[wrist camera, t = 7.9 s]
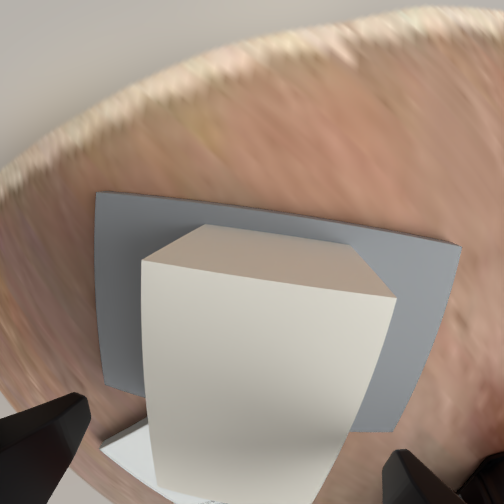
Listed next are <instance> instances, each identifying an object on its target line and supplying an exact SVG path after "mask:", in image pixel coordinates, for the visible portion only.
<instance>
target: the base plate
mask: <svg viewBox="0 0 504 504" xmlns="http://www.w3.org/2000/svg"><path fill="white" fill-rule="evenodd" d="M204 224H209V225H217V226H224V227H232V228H239V229H246V230H253V231H260V232H267V233H274V234H281V235H288V236H295V237H301V238H308V239H315V240H321V241H328V242H334V243H341V244H347V245H350V246H351V247H352V248H353V249H354V250H355V251H356V252H357V253H358V254H359V255H360V257H361V258H362V259H363V260H364V261H365V262H366V263H367V264H368V265H369V267H370V268H371V269H372V270H373V271H374V272H375V273H376V274H377V276H378V277H379V278H380V279H381V280H382V281H383V282H384V284H385V285H386V286H387V287H388V288H389V289H390V290H391V292H392V293H393V294H394V295H395V296H396V297H397V300H396V304H395V307H394V311H393V314H392V318H391V321H390V324H389V328H388V331H387V334H386V337H385V340H384V343H383V346H382V349H381V352H380V355H379V358H378V361H377V364H376V367H375V369H374V372H373V375H372V378H371V380H370V383H369V385H368V388H367V391H366V393H365V396H364V398H363V401H362V403H361V406H360V408H359V410H358V413H357V415H356V417H355V420H354V422H353V424H352V426H351V429H350V431H349V432H393V430H394V428H395V427H396V425H397V423H398V421H399V419H400V417H401V415H402V413H403V411H404V409H405V407H406V405H407V403H408V401H409V399H410V397H411V395H412V393H413V391H414V388H415V386H416V384H417V382H418V380H419V377H420V375H421V373H422V370H423V368H424V366H425V363H426V361H427V358H428V356H429V353H430V351H431V348H432V346H433V343H434V340H435V338H436V335H437V332H438V329H439V326H440V323H441V321H442V318H443V315H444V311H445V308H446V305H447V302H448V299H449V295H450V292H451V289H452V285H453V281H454V278H455V274H456V270H457V266H458V262H459V258H460V254H461V250H462V247H461V246H459V245H457V244H454V243H452V242H447V241H443V240H438V239H433V238H428V237H423V236H418V235H413V234H408V233H403V232H398V231H393V230H387V229H382V228H376V227H371V226H365V225H360V224H354V223H348V222H343V221H337V220H331V219H325V218H318V217H312V216H306V215H300V214H293V213H286V212H280V211H273V210H266V209H259V208H252V207H245V206H237V205H230V204H222V203H214V202H206V201H198V200H190V199H181V198H172V197H163V196H154V195H144V194H134V193H124V192H113V191H103V192H96V204H95V231H94V268H95V295H96V312H97V324H98V335H99V345H100V353H101V361H102V369H103V376H104V382H105V385H107V386H110V387H113V388H116V389H119V390H122V391H125V392H128V393H131V394H134V395H137V396H141V397H144V398H146V396H145V384H144V370H143V353H142V327H141V260H142V259H144V258H146V257H147V256H149V255H151V254H153V253H154V252H156V251H158V250H160V249H161V248H163V247H165V246H167V245H168V244H170V243H172V242H174V241H175V240H177V239H179V238H181V237H183V236H184V235H186V234H188V233H190V232H191V231H193V230H195V229H197V228H199V227H201V226H202V225H204Z"/></svg>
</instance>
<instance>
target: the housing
mask: <svg viewBox="0 0 504 504" xmlns="http://www.w3.org/2000/svg"><path fill="white" fill-rule="evenodd" d="M396 300H397V297H396V296H395V295H394V294H393V293H392V292H391V290H390V289H389V288H388V287H387V286H386V285H385V284H384V282H383V281H382V280H381V279H380V278H379V277H378V276H377V274H376V273H375V272H374V271H373V270H372V269H371V268H370V267H369V265H368V264H367V263H366V262H365V261H364V260H363V259H362V258H361V257H360V255H359V254H358V253H357V252H356V251H355V250H354V249H353V248H352V247H351V246H350V245H347V244H341V243H334V242H328V241H321V240H315V239H308V238H301V237H295V236H288V235H281V234H274V233H267V232H260V231H253V230H246V229H239V228H232V227H224V226H217V225H209V224H204V225H202V226H201V227H199V228H197V229H195V230H193V231H191V232H190V233H188V234H186V235H184V236H183V237H181V238H179V239H177V240H175V241H174V242H172V243H170V244H168V245H167V246H165V247H163V248H161V249H160V250H158V251H156V252H154V253H153V254H151V255H149V256H147V257H146V258H144V259H142V260H141V327H142V353H143V370H144V384H145V396H146V407H147V416H148V425H149V434H150V441H151V449H152V456H153V462H154V468H155V475H156V480H157V486H158V487H161V488H164V489H167V490H171V491H175V492H178V493H182V494H186V495H190V496H194V497H199V498H203V499H208V500H213V501H218V502H223V503H229V504H312V502H313V501H314V499H315V497H316V496H317V494H318V492H319V490H320V488H321V487H322V485H323V483H324V481H325V479H326V477H327V476H328V474H329V472H330V470H331V468H332V466H333V464H334V462H335V460H336V458H337V456H338V454H339V452H340V450H341V448H342V446H343V444H344V442H345V440H346V437H347V435H348V433H349V431H350V429H351V426H352V424H353V422H354V420H355V417H356V415H357V413H358V410H359V408H360V406H361V403H362V401H363V398H364V396H365V393H366V391H367V388H368V385H369V383H370V380H371V378H372V375H373V372H374V369H375V367H376V364H377V361H378V358H379V355H380V352H381V349H382V346H383V343H384V340H385V337H386V334H387V331H388V328H389V324H390V321H391V318H392V314H393V311H394V307H395V304H396Z"/></svg>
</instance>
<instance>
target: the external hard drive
mask: <svg viewBox="0 0 504 504" xmlns="http://www.w3.org/2000/svg"><path fill="white" fill-rule="evenodd" d="M99 449H100V450H101V451H102V452H103V453H104V454H106V455H107V456H108V457H109V458H111V459H112V460H113V461H114V462H116V463H117V464H118V465H119V466H121V467H122V468H123V469H125V470H126V471H127V472H129V473H130V474H131V475H133V476H134V477H135V478H137V479H138V480H140V481H141V482H143V483H144V484H145V485H147V486H148V487H150V488H151V489H153V490H154V491H156V492H157V493H159V494H161V495H162V496H164V497H165V498H167V499H168V500H170V501H172V502H173V503H175V504H229V503H223V502H218V501H213V500H208V499H203V498H199V497H194V496H190V495H186V494H182V493H178V492H175V491H171V490H167V489H164V488H161V487H158V486H157V480H156V475H155V468H154V462H153V456H152V449H151V441H150V434H149V425H148V417H146V418H144V419H143V420H141V421H139V422H137V423H136V424H134V425H132V426H130V427H128V428H127V429H125V430H123V431H121V432H119V433H118V434H116V435H114V436H112V437H110V438H108V439H106V440H105V441H104V442H103V443H102V445H101V446H100V448H99Z"/></svg>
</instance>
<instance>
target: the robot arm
mask: <svg viewBox="0 0 504 504" xmlns="http://www.w3.org/2000/svg"><path fill="white" fill-rule="evenodd" d="M90 421H91V413H90V409H89V404H88V400H87V398H86V397H85V396H84V395H81V394H79V393H76V392H73V393H70V394H67V395H65V396H62V397H60V398H57V399H54V400H52V401H49V402H46V403H44V404H41V405H38V406H36V407H33V408H30V409H27V410H24V411H22V412H19V413H16V414H13V415H10V416H7V417H4V418H1V419H0V504H47V502H48V500H49V498H50V497H51V495H52V493H53V492H54V490H55V488H56V487H57V485H58V483H59V481H60V480H61V478H62V477H63V475H64V473H65V472H66V470H67V468H68V467H69V465H70V463H71V462H72V460H73V458H74V456H75V454H76V452H77V450H78V447H79V445H80V443H81V441H82V438H83V436H84V434H85V432H86V430H87V428H88V425H89V423H90ZM382 489H383V504H504V453H501V454H497V455H493V456H490V457H488V458H487V459H485V460H484V462H483V463H482V464H481V465H480V467H479V468H478V469H477V470H476V472H475V473H474V474H473V475H472V476H471V478H470V479H469V480H468V481H467V482H466V483H465V485H464V486H463V487H462V488H461V489H460V490H459V491H458V492H457V493H456V494H455V493H454V492H453V491H452V490H451V489H450V488H449V487H448V486H447V485H445V484H444V483H443V482H442V481H441V480H440V479H439V478H438V477H437V476H436V475H435V474H434V473H433V472H431V471H430V470H429V469H428V468H427V467H426V466H425V465H424V464H423V463H422V462H421V461H420V460H419V459H418V458H417V457H415V456H414V455H413V454H412V453H411V452H410V451H409V450H407V449H400V450H395V451H393V453H392V454H391V456H390V457H389V459H388V460H387V462H386V463H385V465H384V467H383V470H382Z"/></svg>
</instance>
